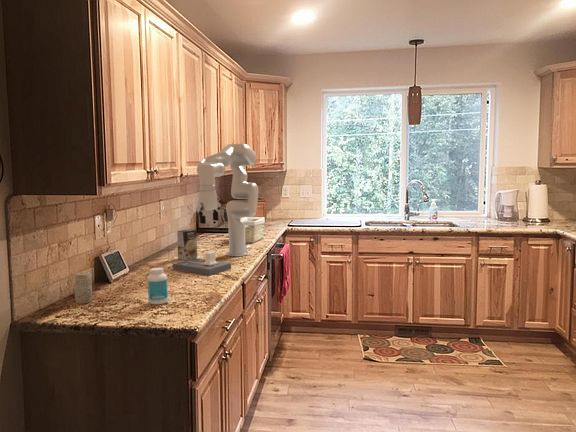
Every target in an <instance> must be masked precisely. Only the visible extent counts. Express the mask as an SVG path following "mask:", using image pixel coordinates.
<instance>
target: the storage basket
mask: <svg viewBox="0 0 576 432" xmlns="http://www.w3.org/2000/svg"><path fill="white" fill-rule="evenodd" d="M241 218H242V220H243V221H244V223H245V244H247V243H248V244H249V243H251V244H252V243H256V242H258V241H260V240H261V239H263V238H264V233H265V223H266V219H265V217H263V216H262V217H261V216H260V217H257V216H256V217H255V216H253V217H241Z"/></svg>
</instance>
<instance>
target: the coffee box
mask: <svg viewBox="0 0 576 432" xmlns="http://www.w3.org/2000/svg"><path fill="white" fill-rule="evenodd" d="M176 234H177V235H176V236H177V259H178V260H182V261H186V260H190V259H194V258H198V232H197V229H191V228H189V229H181V230H177V233H176Z"/></svg>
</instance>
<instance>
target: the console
mask: <svg viewBox="0 0 576 432" xmlns="http://www.w3.org/2000/svg"><path fill="white" fill-rule="evenodd" d="M215 261H216V262H218V264H214V265H211V266H209V265H203V263H205V262H206V260H205V258H204V259H203V258H198V257H197V258H193V259H188V260H182V261H179V262H178V261H177V262H174V263H172V270H173V271H179V272H184V273H185V272H186V273H192V274H198V275H203V276H205V275H206V276H212V275H215V274H220V273H222V272H226V271H229V270H232V263H231V262H226V261H218V260H215Z"/></svg>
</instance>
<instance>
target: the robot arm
mask: <svg viewBox="0 0 576 432" xmlns="http://www.w3.org/2000/svg"><path fill="white" fill-rule="evenodd" d="M257 161H258V157H257V154H256V152H255V151H254V149H253V148H251V146H250V145H248V144H246V143H229V144H227V145H225V146H224V147H223V148H222V149H221V150H220V151H219V152H217V153H214V154H212V155H208V156H206V157H204V158H203V159H202V160H200V161H199V163H198V164H197V166H196V172H197V175H198V176H199V190H200V191H199V192H198V204H197V206H196V208H195V210H196V213H197V214H198V216H199V223H200V225H201V224H202V225H203V224H207V223H206V215H205V214H206V213H208V212H212V220H213V221H216V222H217V221H220V220H219V219H220V218H219V213H220V209H221V206H222V205H221V202H219V201H218V196H217V195H218V194H217V191H216V178H220V177H222V176H224V174H225V172H226V168H225V167H228V166H229V167H230V169H231V172H232V181H231V189H230V191H231V192H230V195H231V197H232V198H233V199H234V200H229V201H228V202H227V204H226V205H225V210H226V215H227V224H228V225H227V226H228V251H227V252H226V256H228V257H244V256H248V255H249V251H247V250H250V249H251V246H250V245H246V243H245V223H244V221H243V220H242V218H245V217H255V216H256V214H257V210H258V201H259V186H258V185H257V184H256V183H255V182H250V181H249V182H248V173H247V171H246V170H245V168H243V167H253V166H255V165H256V164H257V163H258V162H257ZM237 199H238V200H237Z"/></svg>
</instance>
